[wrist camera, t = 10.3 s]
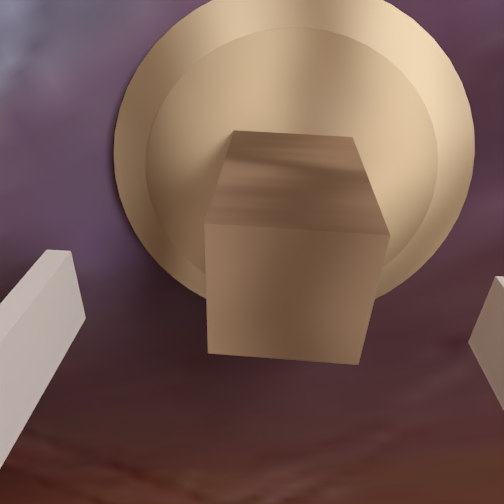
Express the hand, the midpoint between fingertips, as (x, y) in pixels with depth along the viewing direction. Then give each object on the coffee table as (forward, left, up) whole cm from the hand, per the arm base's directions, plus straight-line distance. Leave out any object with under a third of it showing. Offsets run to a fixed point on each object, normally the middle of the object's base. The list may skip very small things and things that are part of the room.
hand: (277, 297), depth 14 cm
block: (0, 0, -7) cm, 7 cm away
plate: (0, 0, -8) cm, 8 cm away
